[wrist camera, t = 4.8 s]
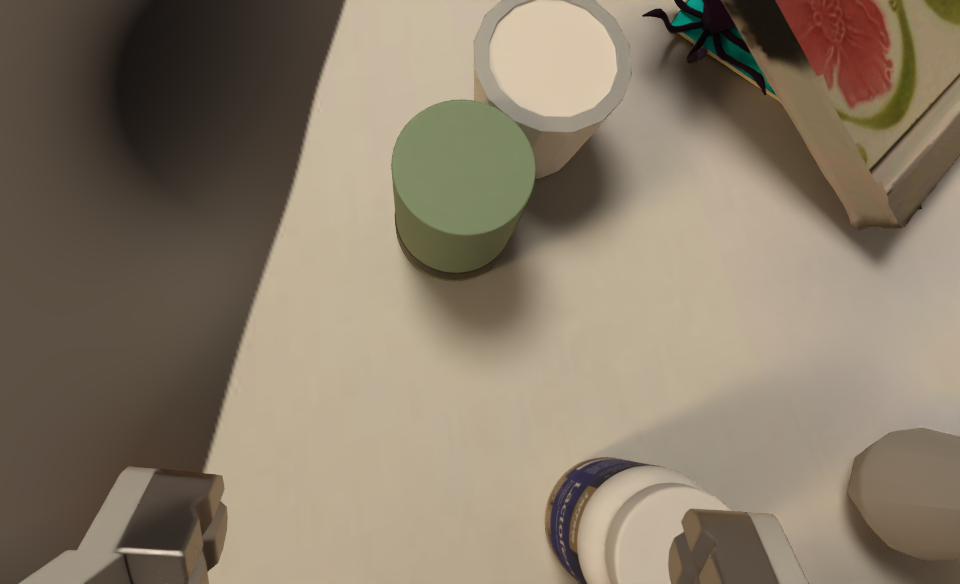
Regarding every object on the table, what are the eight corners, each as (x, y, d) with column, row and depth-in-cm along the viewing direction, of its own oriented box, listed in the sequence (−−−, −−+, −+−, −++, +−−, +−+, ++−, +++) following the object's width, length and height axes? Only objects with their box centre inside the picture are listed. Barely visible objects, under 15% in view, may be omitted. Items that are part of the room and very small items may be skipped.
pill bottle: (530, 470, 32) (582, 487, 22) (645, 446, 32) (744, 452, 23) (556, 597, 31) (623, 675, 21) (674, 569, 31) (791, 632, 22)
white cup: (473, 57, 36) (486, -31, 29) (598, 82, 36) (641, 1, 29) (451, 176, 34) (460, 113, 27) (581, 202, 35) (623, 146, 28)
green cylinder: (528, 207, 34) (562, 142, 26) (475, 303, 33) (494, 263, 25) (431, 153, 34) (436, 72, 27) (374, 247, 33) (362, 190, 25)
